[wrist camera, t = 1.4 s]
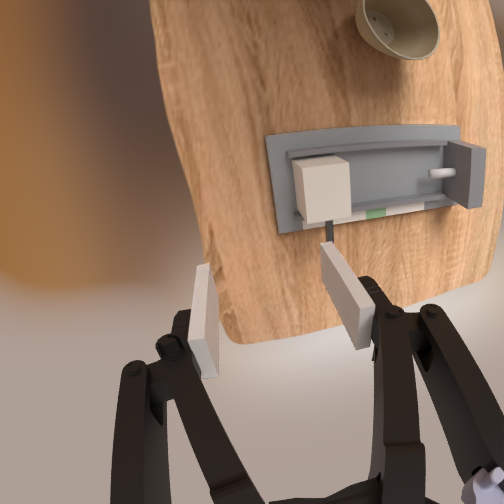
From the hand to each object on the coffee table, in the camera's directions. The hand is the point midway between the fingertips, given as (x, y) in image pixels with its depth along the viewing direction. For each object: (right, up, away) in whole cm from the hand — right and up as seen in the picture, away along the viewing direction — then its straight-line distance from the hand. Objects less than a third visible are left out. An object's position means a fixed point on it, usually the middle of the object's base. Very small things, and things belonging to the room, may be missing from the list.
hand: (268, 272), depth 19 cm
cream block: (+7, +8, +17) cm, 20 cm away
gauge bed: (+15, +12, +17) cm, 26 cm away
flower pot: (+14, +29, +8) cm, 33 cm away
